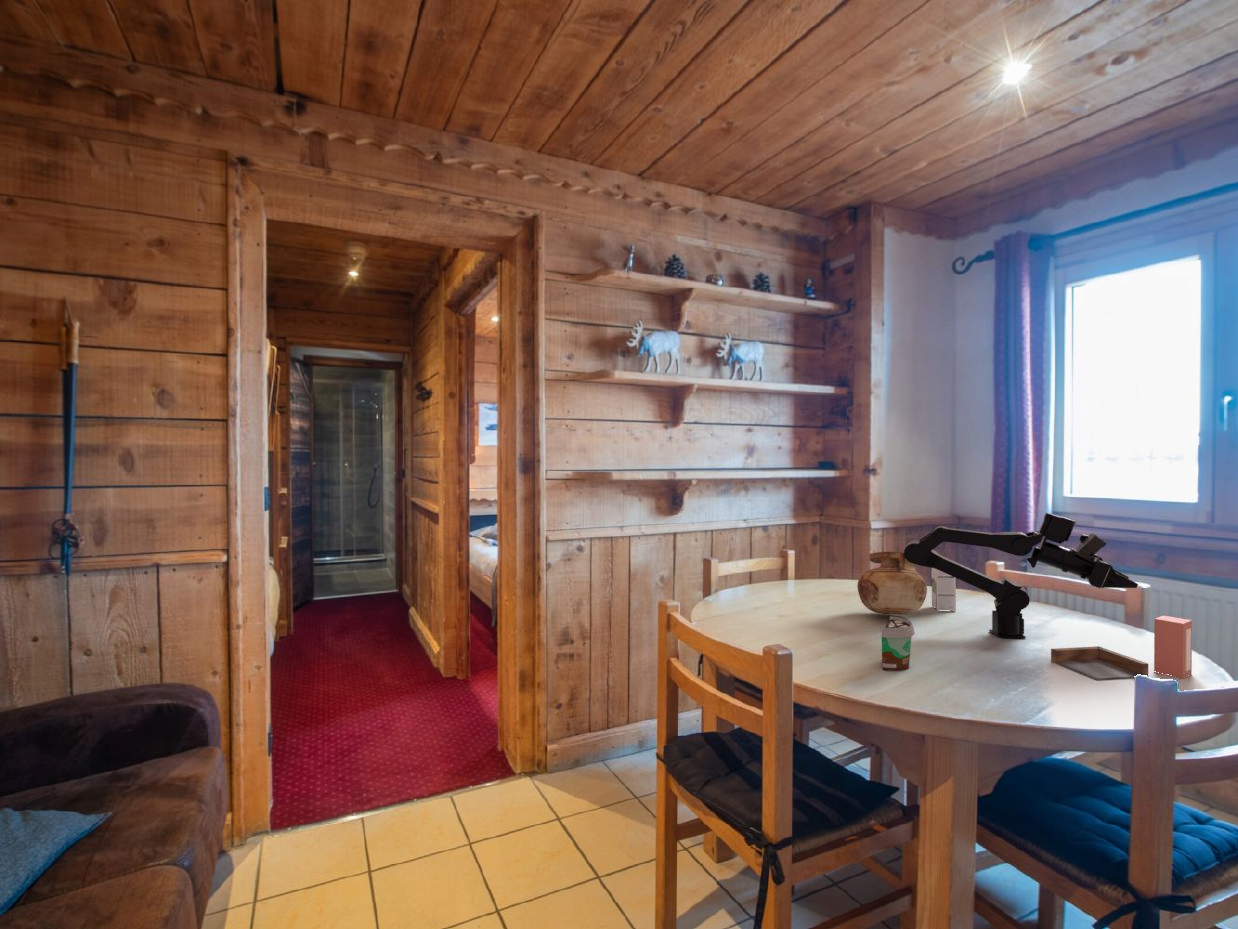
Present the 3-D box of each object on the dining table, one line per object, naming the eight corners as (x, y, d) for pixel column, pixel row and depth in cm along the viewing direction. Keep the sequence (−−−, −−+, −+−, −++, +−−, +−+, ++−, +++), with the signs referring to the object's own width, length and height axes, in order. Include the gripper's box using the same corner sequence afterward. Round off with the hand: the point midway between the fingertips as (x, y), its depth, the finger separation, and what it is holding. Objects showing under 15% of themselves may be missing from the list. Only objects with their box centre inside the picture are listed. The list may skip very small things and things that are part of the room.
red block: (1154, 672, 141) (1154, 618, 141) (1162, 668, 144) (1163, 615, 143) (1184, 679, 137) (1184, 624, 136) (1192, 674, 139) (1193, 620, 139)
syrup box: (956, 612, 195) (956, 565, 195) (936, 611, 196) (936, 564, 196) (950, 607, 200) (950, 561, 200) (930, 606, 202) (930, 561, 201)
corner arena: (1096, 680, 136) (1097, 666, 136) (1051, 661, 149) (1051, 648, 149) (1148, 677, 138) (1148, 663, 138) (1098, 659, 150) (1098, 646, 150)
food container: (910, 677, 139) (910, 631, 139) (881, 672, 143) (881, 627, 142) (918, 661, 150) (918, 619, 150) (890, 656, 153) (890, 615, 153)
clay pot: (840, 599, 187) (852, 542, 197) (874, 629, 195) (884, 572, 205) (902, 597, 173) (911, 535, 183) (935, 629, 181) (943, 568, 190)
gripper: (1079, 533, 154) (1156, 558, 147) (1067, 525, 171) (1136, 547, 164) (1061, 575, 156) (1136, 601, 149) (1051, 563, 173) (1118, 586, 166)
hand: (1132, 582), depth 157 cm, fingers open, 9 cm apart
